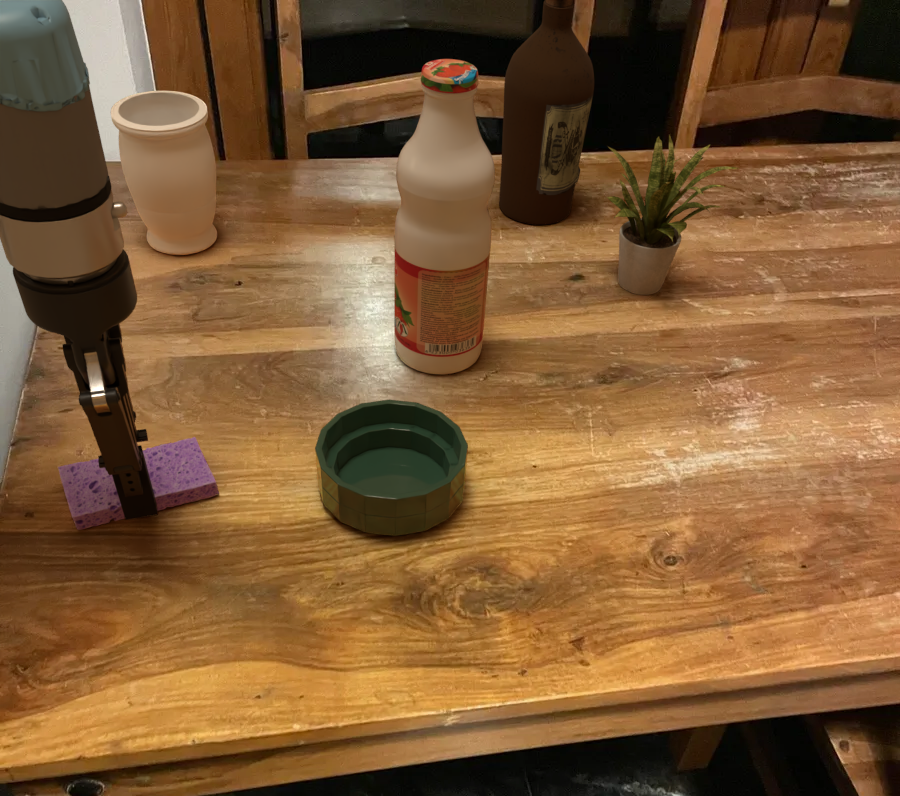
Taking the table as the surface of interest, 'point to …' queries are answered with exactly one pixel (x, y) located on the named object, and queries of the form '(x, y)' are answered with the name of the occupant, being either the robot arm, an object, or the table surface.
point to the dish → (391, 467)
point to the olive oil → (545, 119)
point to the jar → (169, 168)
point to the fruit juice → (443, 226)
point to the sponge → (171, 473)
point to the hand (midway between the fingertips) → (141, 511)
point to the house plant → (655, 219)
